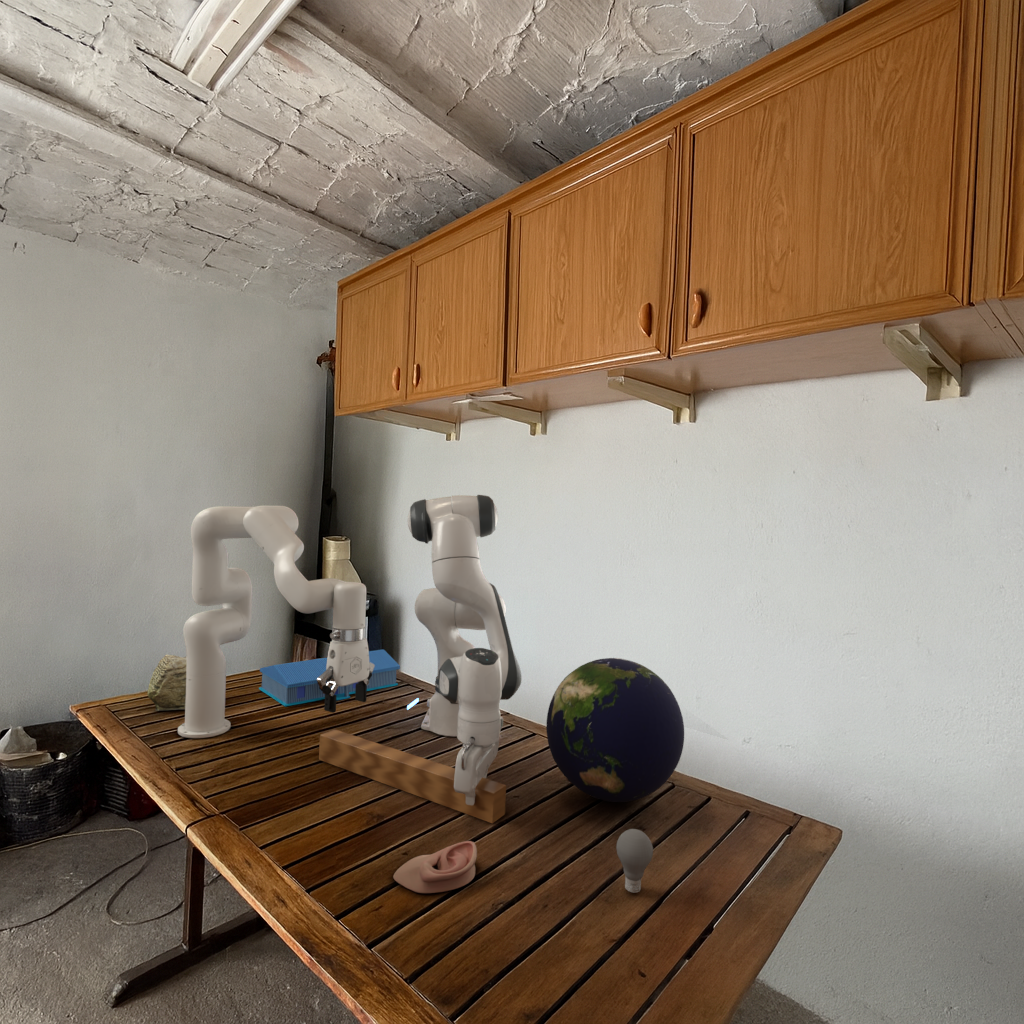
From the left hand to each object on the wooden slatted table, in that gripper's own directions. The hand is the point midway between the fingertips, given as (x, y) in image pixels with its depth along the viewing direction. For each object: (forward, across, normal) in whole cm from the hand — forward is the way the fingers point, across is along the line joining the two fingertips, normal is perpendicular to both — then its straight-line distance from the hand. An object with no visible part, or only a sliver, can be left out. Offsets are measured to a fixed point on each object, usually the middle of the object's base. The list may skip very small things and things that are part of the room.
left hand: (345, 705), depth 151 cm
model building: (+14, +38, +46) cm, 61 cm away
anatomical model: (+14, -22, -46) cm, 53 cm away
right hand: (+11, 0, -38) cm, 40 cm away
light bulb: (+14, -7, -75) cm, 77 cm away
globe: (+14, +23, -59) cm, 65 cm away
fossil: (+14, -1, +65) cm, 67 cm away
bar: (+14, 0, -19) cm, 24 cm away
